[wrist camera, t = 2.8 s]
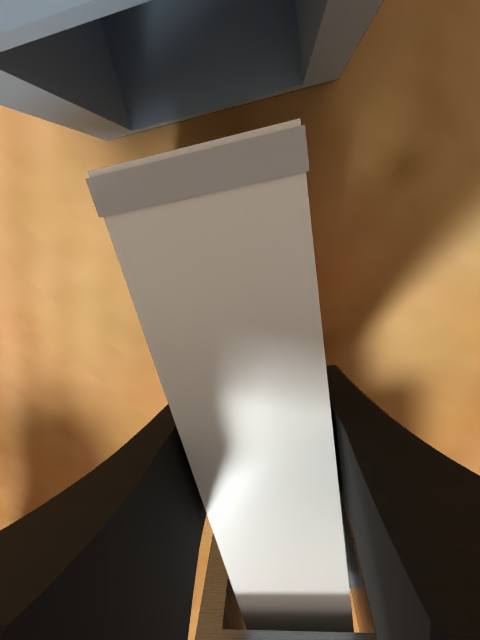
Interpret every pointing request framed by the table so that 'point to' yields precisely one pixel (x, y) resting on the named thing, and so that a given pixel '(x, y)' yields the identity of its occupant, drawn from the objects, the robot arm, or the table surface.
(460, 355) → the table surface
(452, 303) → the table surface
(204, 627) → the metal block
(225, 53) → the socket
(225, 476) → the long white plank
